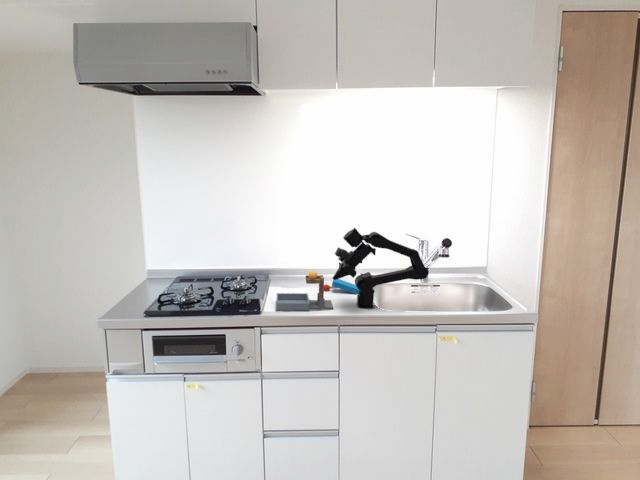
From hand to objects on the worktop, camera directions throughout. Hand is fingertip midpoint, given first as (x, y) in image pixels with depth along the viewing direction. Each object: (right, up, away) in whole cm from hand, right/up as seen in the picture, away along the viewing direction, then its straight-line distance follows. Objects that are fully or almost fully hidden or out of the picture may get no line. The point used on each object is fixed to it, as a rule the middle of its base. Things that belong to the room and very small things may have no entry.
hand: (333, 279), depth 203 cm
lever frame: (-5, -12, +2) cm, 13 cm away
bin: (-18, -12, +1) cm, 21 cm away
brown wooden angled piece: (-8, -10, +1) cm, 13 cm away
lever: (+5, -9, +24) cm, 26 cm away
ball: (-9, +2, -1) cm, 9 cm away
